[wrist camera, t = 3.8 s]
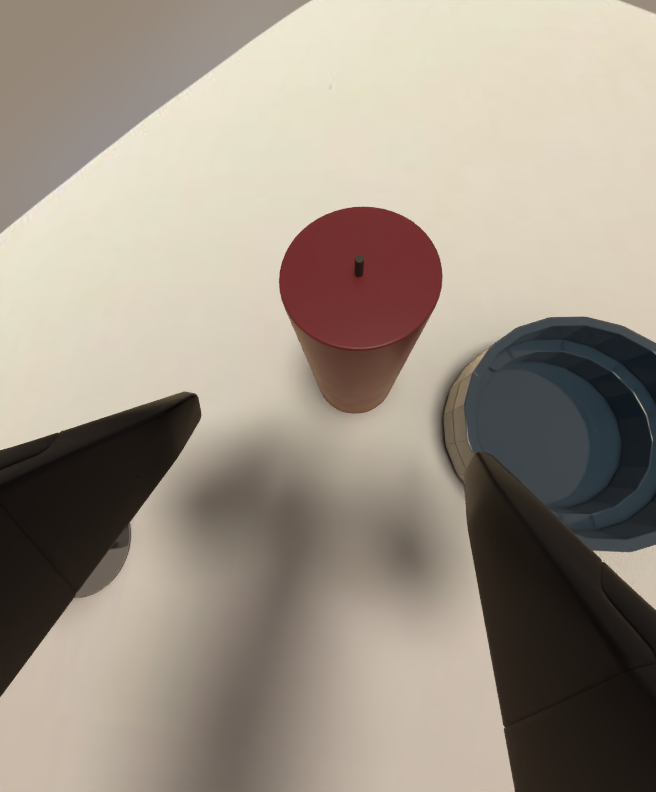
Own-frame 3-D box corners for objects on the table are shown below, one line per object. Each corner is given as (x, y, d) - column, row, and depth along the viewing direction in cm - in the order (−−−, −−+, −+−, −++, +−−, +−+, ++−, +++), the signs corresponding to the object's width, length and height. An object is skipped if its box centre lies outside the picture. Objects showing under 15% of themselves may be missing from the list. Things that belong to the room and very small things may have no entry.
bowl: (486, 555, 19) (527, 584, 14) (414, 375, 22) (431, 354, 17) (676, 497, 19) (777, 508, 14) (578, 324, 22) (636, 289, 17)
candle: (330, 422, 21) (298, 364, 8) (309, 355, 23) (255, 216, 10) (402, 400, 21) (480, 307, 8) (377, 334, 23) (412, 166, 10)
